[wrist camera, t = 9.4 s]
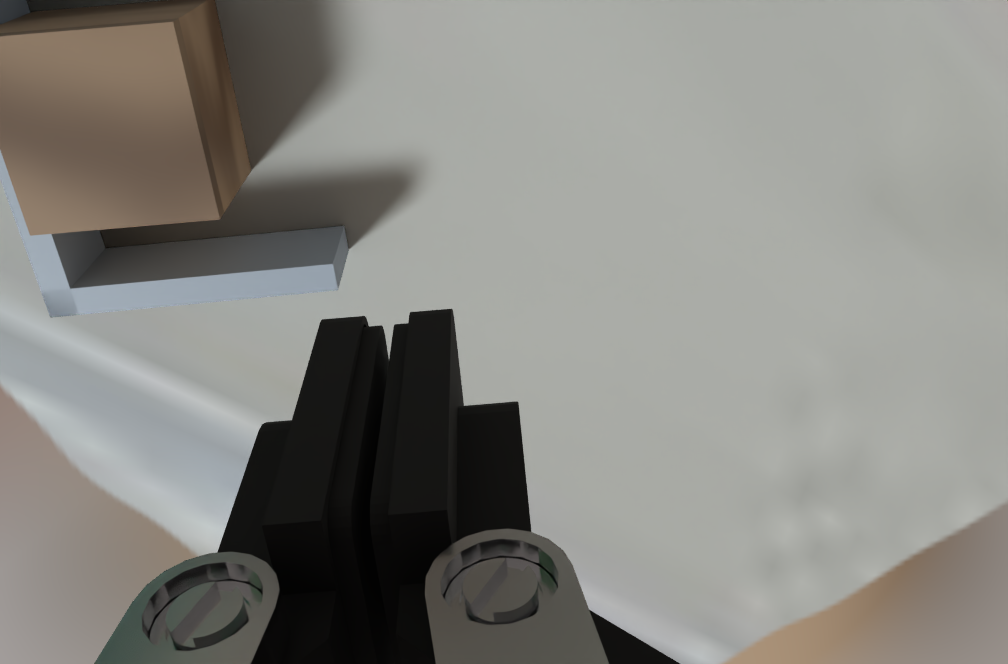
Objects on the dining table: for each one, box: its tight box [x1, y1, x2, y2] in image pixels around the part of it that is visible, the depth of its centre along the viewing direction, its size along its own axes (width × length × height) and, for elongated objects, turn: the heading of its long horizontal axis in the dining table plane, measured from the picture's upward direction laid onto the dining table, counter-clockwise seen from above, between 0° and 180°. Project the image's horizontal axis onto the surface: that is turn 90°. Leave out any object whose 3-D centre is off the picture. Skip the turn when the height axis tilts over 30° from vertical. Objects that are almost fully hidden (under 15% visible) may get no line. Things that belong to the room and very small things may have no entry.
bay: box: [0, 0, 349, 317], centre depth 30 cm, size 13×10×4 cm
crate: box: [0, 0, 251, 236], centre depth 29 cm, size 6×6×5 cm
